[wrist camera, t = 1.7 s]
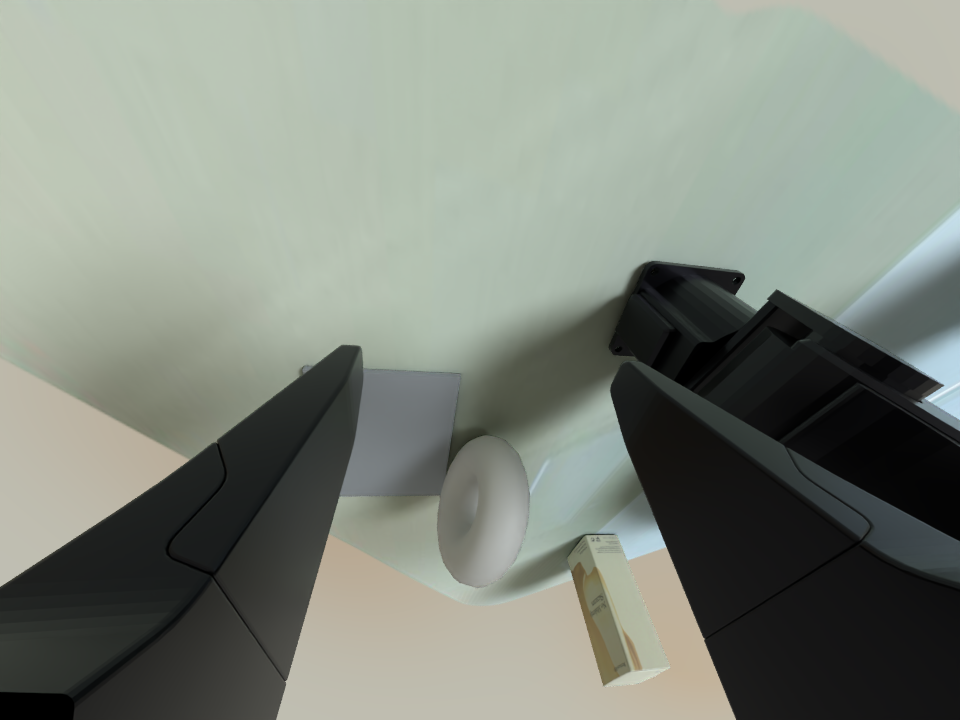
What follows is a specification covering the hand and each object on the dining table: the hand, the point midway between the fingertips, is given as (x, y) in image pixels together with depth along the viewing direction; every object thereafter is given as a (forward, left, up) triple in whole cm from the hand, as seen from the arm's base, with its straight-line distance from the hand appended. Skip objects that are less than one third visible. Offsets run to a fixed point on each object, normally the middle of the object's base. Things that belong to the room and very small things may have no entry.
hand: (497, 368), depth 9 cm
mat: (+4, +17, -12) cm, 21 cm away
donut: (-3, +18, -12) cm, 22 cm away
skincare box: (-20, +36, -12) cm, 43 cm away
